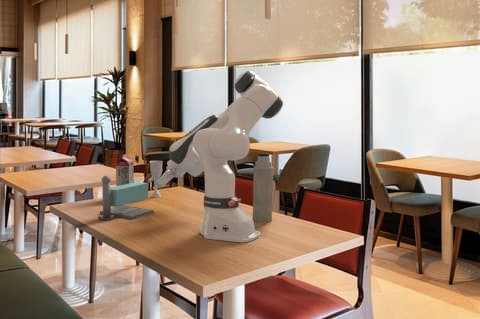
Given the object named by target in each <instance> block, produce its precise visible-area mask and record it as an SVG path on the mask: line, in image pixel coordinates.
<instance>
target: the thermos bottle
mask: <svg viewBox="0 0 480 319" xmlns="http://www.w3.org/2000/svg"><path fill="white" fill-rule="evenodd" d="M254 165H255V166H253V180H252V181H253V183H252V184H253V188H252V190H253V192H252V200H253V201H252V219H253V222H256V223H270V222H272V220H273V190H274V189H273V188H274V186H273V185H274V183H273V182H274V167H273V166H272V165H273V163H272V161H271V160H270V153H267V152H259V153H257V160H256V161H255V164H254Z"/></svg>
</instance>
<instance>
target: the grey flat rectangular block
mask: <svg viewBox="0 0 480 319" xmlns="http://www.w3.org/2000/svg"><path fill="white" fill-rule="evenodd" d="M154 211H155V210H154V209H148V208H143V207H137V206H131V205H126V204H125V205H122V206H118V207H114V206H112V207H111V215H115V216H116V218H122V219H129V220H135V219H137V218H141V217H144V216H148V215H150V214H151V215H152V214H154V213H155V212H154ZM99 215H103V209H102V210H100V211H99Z"/></svg>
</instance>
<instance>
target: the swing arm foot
mask: <svg viewBox="0 0 480 319" xmlns="http://www.w3.org/2000/svg"><path fill="white" fill-rule="evenodd" d="M115 219H117V217H116V216H115V215H111V216H109V217H104V216H103V214H101V215H98V216H97V220H99V221H100V220H101V221H104V222H109V221H112V220H115Z"/></svg>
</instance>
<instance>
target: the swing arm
mask: <svg viewBox="0 0 480 319" xmlns="http://www.w3.org/2000/svg"><path fill="white" fill-rule="evenodd" d="M111 181H112V179H111V177H110V175H104V176H102V177H101V183H102V184H101V186H102V210H103V214H102V215H103V216H104V217H109V216H111V208H112V207H118V206H122V205H125V206H126V205H128V204H132V203H136V202H140V201H144V200H147V199H149V183H148V182H140V181H134V183H130V184H125V185H120V186H116V185H115V186H112V187H111Z"/></svg>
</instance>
